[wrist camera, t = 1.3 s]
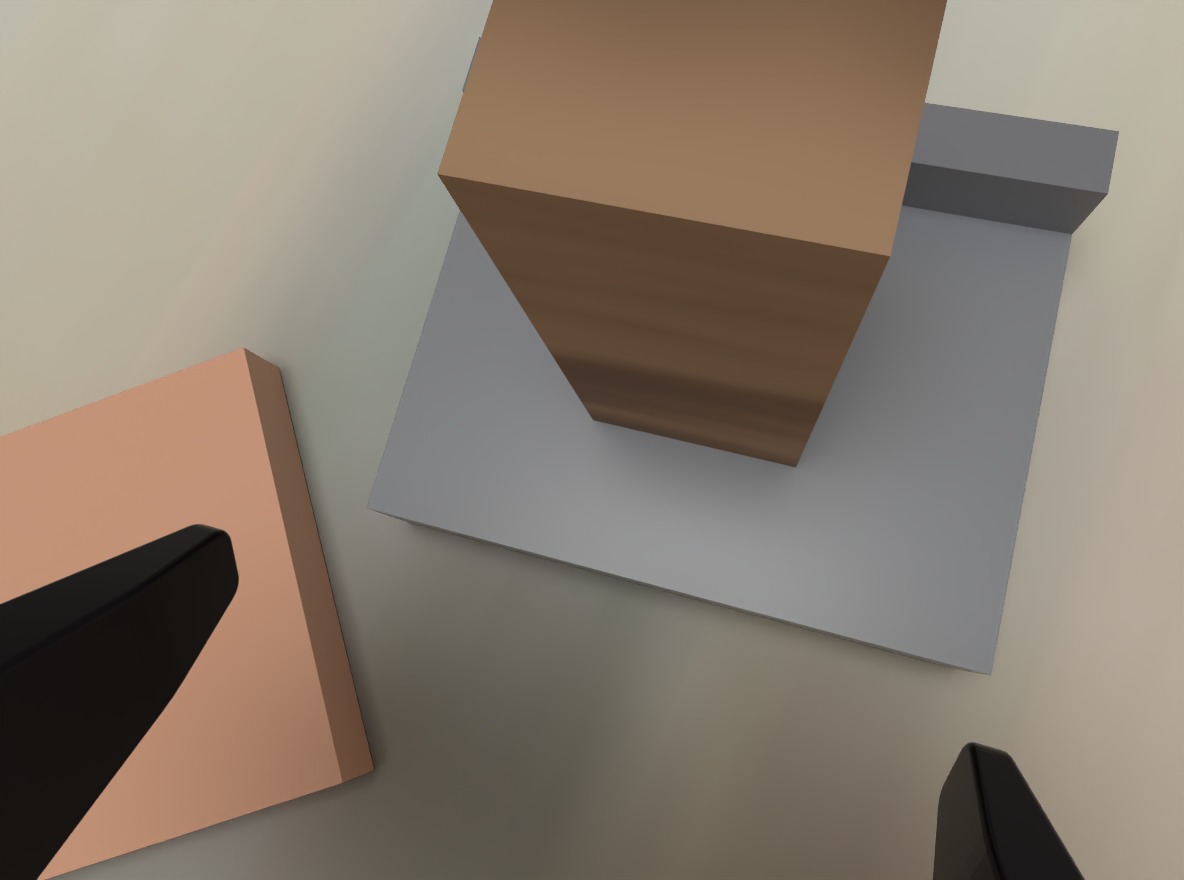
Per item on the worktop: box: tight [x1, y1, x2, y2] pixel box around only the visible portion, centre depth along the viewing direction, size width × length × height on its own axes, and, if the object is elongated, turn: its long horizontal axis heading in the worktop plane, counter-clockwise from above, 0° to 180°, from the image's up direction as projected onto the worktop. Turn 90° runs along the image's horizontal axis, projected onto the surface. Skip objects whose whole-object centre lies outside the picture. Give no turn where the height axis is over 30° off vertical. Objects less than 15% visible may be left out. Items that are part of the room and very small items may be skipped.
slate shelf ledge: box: [367, 37, 1119, 675], centre depth 22 cm, size 12×15×5 cm
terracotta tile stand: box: [0, 348, 374, 880], centre depth 24 cm, size 12×12×2 cm
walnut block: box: [438, 0, 947, 467], centre depth 16 cm, size 5×5×12 cm
